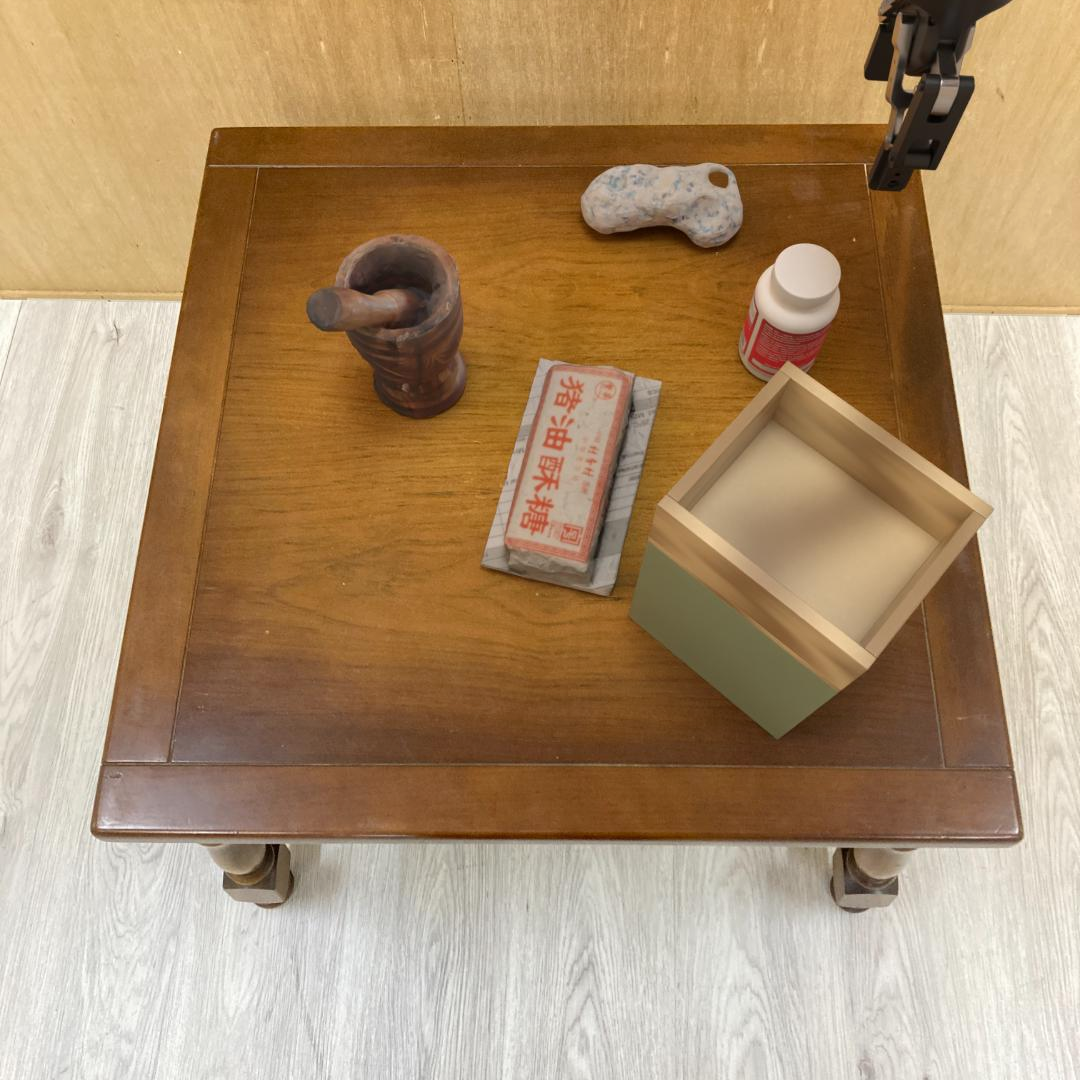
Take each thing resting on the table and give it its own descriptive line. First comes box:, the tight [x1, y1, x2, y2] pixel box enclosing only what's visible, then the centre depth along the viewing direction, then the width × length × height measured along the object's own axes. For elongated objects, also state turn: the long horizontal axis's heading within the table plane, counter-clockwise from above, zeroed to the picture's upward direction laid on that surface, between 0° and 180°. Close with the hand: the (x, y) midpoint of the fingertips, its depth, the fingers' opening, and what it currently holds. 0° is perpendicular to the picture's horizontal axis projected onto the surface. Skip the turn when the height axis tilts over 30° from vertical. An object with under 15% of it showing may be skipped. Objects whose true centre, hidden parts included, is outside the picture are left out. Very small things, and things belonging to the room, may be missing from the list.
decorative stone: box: [580, 162, 744, 249], centre depth 84 cm, size 13×7×5 cm, turn 94°
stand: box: [627, 540, 840, 740], centre depth 67 cm, size 14×12×16 cm
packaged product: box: [480, 356, 663, 597], centre depth 76 cm, size 18×5×10 cm
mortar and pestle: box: [305, 233, 467, 419], centre depth 71 cm, size 12×9×20 cm
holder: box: [647, 361, 995, 693], centre depth 57 cm, size 14×12×6 cm
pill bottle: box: [738, 242, 842, 383], centre depth 77 cm, size 6×6×11 cm
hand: (882, 130), depth 63 cm, fingers open, 8 cm apart
